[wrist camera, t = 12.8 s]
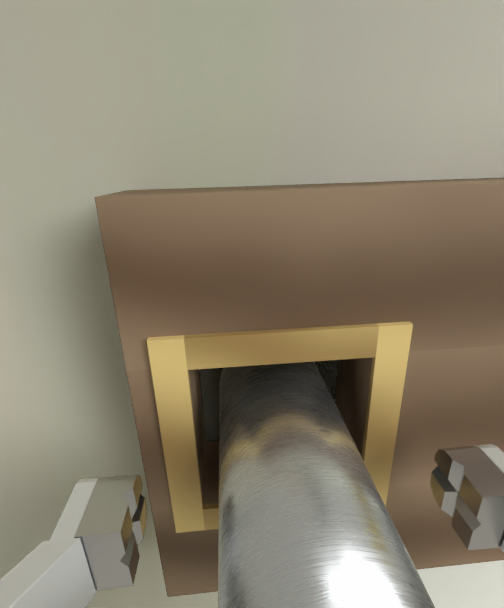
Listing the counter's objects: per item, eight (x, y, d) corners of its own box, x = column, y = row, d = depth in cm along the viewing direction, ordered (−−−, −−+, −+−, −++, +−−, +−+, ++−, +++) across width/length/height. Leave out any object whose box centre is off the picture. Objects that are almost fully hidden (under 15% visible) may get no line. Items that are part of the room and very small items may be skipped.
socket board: (126, 190, 11) (91, 198, 8) (701, 171, 12) (853, 171, 9) (176, 524, 16) (166, 602, 13) (573, 486, 18) (644, 549, 15)
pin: (216, 340, 13) (204, 744, 4) (320, 334, 14) (538, 698, 4) (222, 426, 15) (224, 868, 5) (316, 418, 15) (473, 828, 6)
